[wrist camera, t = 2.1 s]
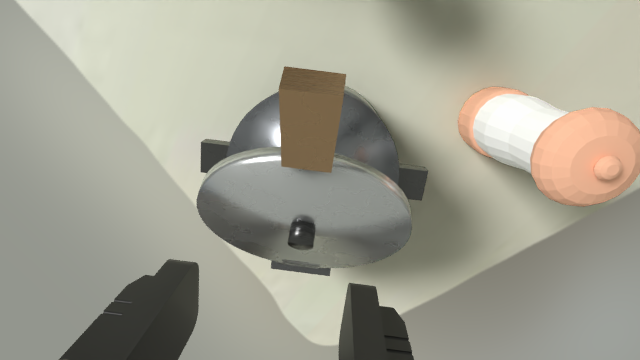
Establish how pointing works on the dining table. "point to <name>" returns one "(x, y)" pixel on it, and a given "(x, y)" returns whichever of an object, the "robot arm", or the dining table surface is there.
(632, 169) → the pepper shaker
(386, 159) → the cooker pot
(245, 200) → the cooker lid
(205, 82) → the dining table surface
